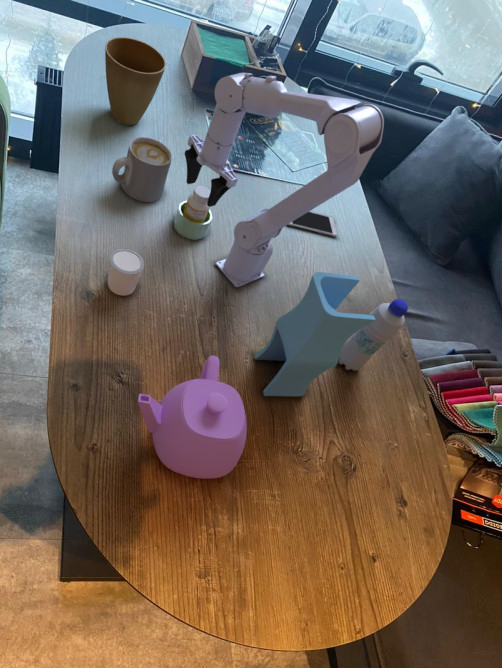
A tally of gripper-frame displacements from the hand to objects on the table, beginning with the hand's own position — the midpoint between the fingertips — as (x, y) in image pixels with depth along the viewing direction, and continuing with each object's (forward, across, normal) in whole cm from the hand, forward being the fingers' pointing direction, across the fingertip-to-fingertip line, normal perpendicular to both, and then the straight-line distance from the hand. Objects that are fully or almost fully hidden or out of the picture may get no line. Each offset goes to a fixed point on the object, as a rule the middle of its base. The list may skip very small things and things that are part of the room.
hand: (200, 193), depth 113 cm
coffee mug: (+10, -16, -5) cm, 19 cm away
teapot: (+10, +43, -36) cm, 57 cm away
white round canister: (+10, +9, -26) cm, 29 cm away
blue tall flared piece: (+10, +43, -9) cm, 45 cm away
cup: (+10, 0, 0) cm, 10 cm away
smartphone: (+10, +10, +35) cm, 38 cm away
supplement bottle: (+9, 0, 0) cm, 9 cm away
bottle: (+10, +48, +9) cm, 50 cm away
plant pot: (+10, -41, +9) cm, 43 cm away
